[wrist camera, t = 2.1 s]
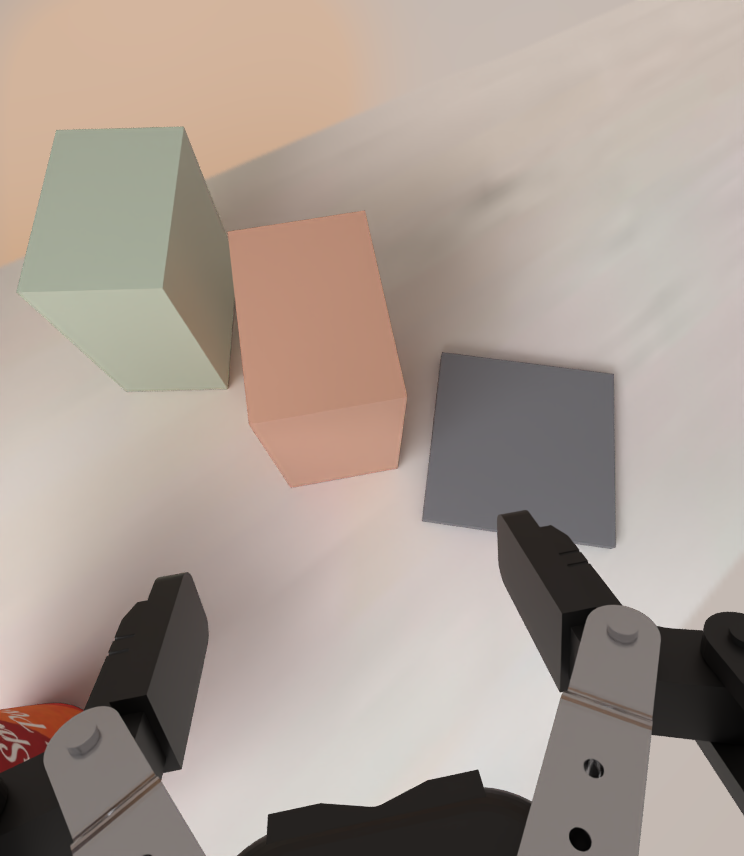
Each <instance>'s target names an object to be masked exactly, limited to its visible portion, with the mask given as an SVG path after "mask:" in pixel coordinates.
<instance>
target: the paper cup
mask: <svg viewBox="0 0 744 856" xmlns="http://www.w3.org/2000/svg"><path fill="white" fill-rule="evenodd" d="M83 711H84V710H82V709H80V708H78V707H76V706H73V705H69V704H62V703H49V704H38V705H30V706H22V707H15V708H8V709H1V710H0V773H1V772H3V771H6V770H8V769H10V768H12V767H14V766H16V765H18V764H20V763H22V762H25V761H27V760H29V759H31V758H33V757H35V756H37V755H39V754H41V753H43V752H45V750H46V747H47V745H48V743H49V741H50V740H51V738H52V737H53V736H54V734H55V733H56V732H57V731H58V730H59V728H60V727H61V726H63V725H64V724H65V723H66V722H67V721H68V720H70V719H71V718H72V717H74V716H76V715H77V714H79V713H81V712H83Z"/></svg>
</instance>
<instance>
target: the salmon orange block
mask: <svg viewBox="0 0 744 856" xmlns="http://www.w3.org/2000/svg"><path fill="white" fill-rule="evenodd" d="M228 240H229V249H230V258H231V267H232V276H233V285H234V294H235V303H236V312H237V321H238V330H239V339H240V348H241V357H242V366H243V375H244V384H245V393H246V402H247V411H248V420H249V425H250V427H251V428H252V430H253V431H254V433H255V434H256V436H257V437H258V439H259V440H260V442H261V443H262V445H263V446H264V448H265V449H266V451H267V452H268V454H269V456H270V457H271V459H272V460H273V462H274V463H275V465H276V466H277V468H278V469H279V471H280V472H281V474H282V475H283V477H284V478H285V480H286V481H287V483H288V484H289V486H290V487H291V488H292V487H298V486H303V485H309V484H314V483H320V482H325V481H331V480H336V479H342V478H347V477H353V476H358V475H364V474H369V473H375V472H380V471H386V470H391V469H397V467H398V460H399V453H400V446H401V439H402V431H403V424H404V417H405V410H406V402H407V393H406V389H405V384H404V380H403V376H402V371H401V367H400V363H399V358H398V354H397V349H396V345H395V341H394V336H393V332H392V327H391V323H390V319H389V314H388V310H387V305H386V301H385V297H384V292H383V288H382V284H381V279H380V275H379V270H378V266H377V262H376V257H375V253H374V248H373V244H372V240H371V235H370V231H369V227H368V222H367V218H366V213H365V211H359V212H352V213H346V214H339V215H333V216H326V217H320V218H313V219H307V220H300V221H294V222H287V223H281V224H274V225H268V226H261V227H255V228H248V229H242V230H235V231H229V232H228Z"/></svg>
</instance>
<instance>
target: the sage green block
mask: <svg viewBox="0 0 744 856" xmlns="http://www.w3.org/2000/svg"><path fill="white" fill-rule="evenodd" d="M17 293H18V294H19V295H20V296H21V297H22V298H23V299H24V300H25V301H27V302H28V303H29V304H30V305H31V306H32V307H33V308H34V309H35V310H36V311H38V312H39V313H40V314H41V315H42V316H43V317H44V318H45V319H46V320H48V321H49V322H50V323H51V324H52V325H53V326H54V327H55V328H56V329H57V330H59V331H60V332H61V333H62V334H63V335H64V336H65V337H66V338H67V339H69V340H70V341H71V342H72V343H73V344H74V345H75V346H76V347H77V348H78V349H80V350H81V351H82V352H83V353H84V354H85V355H86V356H87V357H88V358H90V359H91V360H92V361H93V362H94V363H95V364H96V365H97V366H98V367H99V368H101V369H102V370H103V371H104V372H105V373H106V374H107V375H108V376H109V377H111V378H112V379H113V380H114V381H115V382H116V383H117V384H118V385H119V386H121V387H122V388H123V389H124V390H125V391H126V392H139V391H175V390H211V389H228V379H229V366H230V353H231V340H232V326H233V313H234V300H235V294H234V285H233V276H232V267H231V258H230V249H229V241H228V238H227V235H226V233H225V230H224V228H223V225H222V223H221V220H220V218H219V215H218V212H217V210H216V207H215V205H214V202H213V200H212V197H211V195H210V192H209V190H208V187H207V184H206V182H205V179H204V177H203V174H202V172H201V170H200V167H199V164H198V162H197V159H196V157H195V154H194V152H193V149H192V146H191V144H190V142H189V139H188V136H187V133H186V131H185V128H184V127H150V128H115V129H78V130H77V129H76V130H56V133H55V138H54V141H53V146H52V150H51V154H50V158H49V162H48V166H47V170H46V174H45V178H44V182H43V187H42V190H41V195H40V199H39V203H38V207H37V211H36V215H35V219H34V223H33V227H32V231H31V235H30V239H29V243H28V247H27V251H26V256H25V260H24V264H23V268H22V272H21V276H20V280H19V284H18V288H17Z"/></svg>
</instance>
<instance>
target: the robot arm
mask: <svg viewBox="0 0 744 856" xmlns="http://www.w3.org/2000/svg"><path fill="white" fill-rule="evenodd" d="M497 537H498V561H499V569H500V573H501V577H502V580H503V582H504V585H505V587H506V589H507V591H508V593H509V595H510V597H511V599H512V600H513V602H514V604H515V606H516V608H517V610H518V612H519V614H520V616H521V618H522V620H523V622H524V624H525V626H526V628H527V630H528V631H529V633H530V635H531V637H532V639H533V641H534V643H535V645H536V647H537V649H538V651H539V653H540V655H541V657H542V659H543V661H544V663H545V664H546V666H547V668H548V670H549V672H550V674H551V676H552V678H553V680H554V682H555V684H556V686H557V688H558V690H559V692H563V693H562V695H561V698H560V702H559V705H558V709H557V713H556V716H555V720H554V724H553V727H552V731H551V734H550V738H549V742H548V745H547V749H546V753H545V756H544V760H543V764H542V767H541V771H540V775H539V778H538V782H537V785H536V789H535V793H534V796H533V800H532V801H530V800H528V799H526V798H524V797H521V796H519V795H516V794H514V793H511V792H508V791H504V790H499V789H495V788H486V787H483V784H482V780H481V777H480V774H479V771H478V770H474V771H469V772H464V773H460V774H455V775H450V776H446V777H441V778H436V779H432V780H427V781H425V782H424V783H422V784H420V785H418V786H416V787H414V788H412V789H410V790H408V791H406V792H404V793H403V794H401V795H399V796H397V797H395V798H393V799H391V800H389V801H387V802H385V803H384V804H382V805H379V806H376V807H364V806H350V805H337V804H323V803H320V804H315V805H310V806H306V807H301V808H296V809H292V810H287V811H282V812H278V813H273V814H268V825H267V835H265V836H264V837H262V838H260V839H258V840H257V841H255V842H254V843H252V844H251V845H250V846H248V847H247V848H246V849H244V850H243V851H242V852H241V853H240V854H238V855H237V856H638V854H639V845H640V835H641V826H642V817H643V807H644V797H645V788H646V780H647V770H648V761H649V752H650V742H651V735H658V736H666V737H675V738H683V739H692V740H695V741H696V742H697V744H698V745H699V747H700V748H701V750H702V752H703V753H704V755H705V756H706V758H707V759H708V761H709V762H710V764H711V765H712V767H713V769H714V770H715V771H716V773H717V775H718V776H719V778H720V779H721V781H722V782H723V784H724V785H725V787H726V789H727V790H728V792H729V793H730V795H731V796H732V798H733V799H734V801H735V802H736V804H737V806H738V807H739V809H740V810H741V812H742V813H743V815H744V614H743V613H737V612H721V613H717V614H714V615H712V616H710V617H709V618H708V619H707V620H706V622H705V625H704V628H703V631H701V630H687V629H672V628H664V627H659V626H656V625H655V623H654V622H653V621H652V620H651V619H650V618H649V617H647V616H646V615H645V614H643V613H641V612H639V611H637V610H635V609H633V608H630V607H626V606H622V604H621V603H620V602H619V600H618V599H617V598H616V597H615V595H614V594H613V593H612V591H611V590H610V589H609V588H608V586H607V585H606V584H605V582H604V581H603V580H602V579H601V577H600V576H599V575H598V573H597V572H596V571H595V569H594V568H593V567H592V566H591V564H588V560H587V559H586V558H585V557H584V555H583V554H582V553H581V552H579V549H578V548H577V546H576V545H575V544H574V542H573V541H572V540H571V539H570V537H569V536H568V535H566V534H565V533H563V532H562V531H560V530H558V529H557V528H555V527H554V526H552V525H549V526H543V527H539V525H538V524H537V522H536V521H535V519H534V518H533V517H532V515H531V514H530V513H529V511H527V510H522V511H516V512H511V513H506V514H500V515H498V517H497ZM208 636H209V631H208V622H207V618H206V614H205V612H204V609H203V606H202V603H201V601H200V598H199V595H198V592H197V590H196V587H195V584H194V581H193V579H192V576H191V575H190V573H188V572H186V573H180V574H175V575H169V576H164V577H159V578H157V579H156V580H155V582H154V584H153V587H152V590H151V592H150V595H149V598H148V600H147V601H142V602H137V603H136V604H135V606H134V607H133V608H132V609H131V610H130V611H129V612H128V614H127V615H126V616H125V617H124V618H123V619H122V621H121V624H120V626H119V628H118V631H117V633H116V636H115V641H113V643H112V645H111V647H110V650H109V652H108V653H109V656H107V657H106V659H105V662H104V664H103V666H102V669H101V671H100V674H99V676H98V678H97V681H96V683H95V685H94V688H93V690H92V693H91V695H90V697H89V700H88V702H87V704H86V707H85V709H84V711H83V712H81V713H79V714H77V715H76V716H74V717H72V718H71V719H70V720H68V721H67V722H66V723H65V724H64V725H63V726H61V727H60V728H59V730H58V731H57V732H56V733H55V734H54V736H53V737H52V738H51V740H50V741H49V743H48V745H47V747H46V750H45V752H43V753H41V754H39V755H37V756H35V757H33V758H31V759H29V760H27V761H25V762H22V763H20V764H18V765H16V766H14V767H12V768H10V769H8V770H6V771H3V772H1V773H0V856H206V855H205V854H204V852H203V850H202V849H201V847H200V845H199V844H198V842H197V840H196V839H195V837H194V835H193V834H192V832H191V830H190V829H189V827H188V825H187V824H186V822H185V820H184V819H183V817H182V815H181V814H180V812H179V810H178V809H177V807H176V805H175V804H174V802H173V800H172V799H171V797H170V795H169V794H168V792H167V790H166V789H165V787H164V785H163V784H162V782H161V779H162V775H163V773H166V772H170V771H175V770H180V769H182V764H183V760H184V755H185V750H186V745H187V740H188V736H189V731H190V726H191V721H192V716H193V712H194V707H195V702H196V697H197V693H198V688H199V683H200V678H201V673H202V669H203V664H204V659H205V654H206V649H207V645H208Z"/></svg>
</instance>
